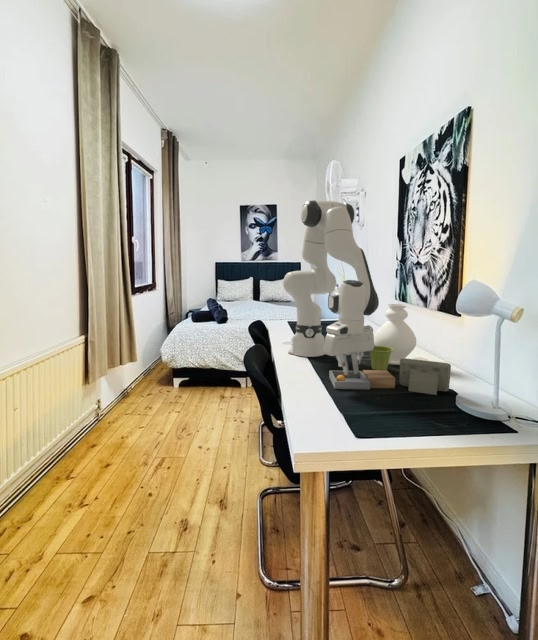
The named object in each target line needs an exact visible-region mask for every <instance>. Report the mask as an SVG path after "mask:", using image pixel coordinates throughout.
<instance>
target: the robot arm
mask: <svg viewBox="0 0 538 640" xmlns="http://www.w3.org/2000/svg"><path fill="white" fill-rule="evenodd" d="M300 216H301V217H300V218H301V222H302V224H303V225H304V226H306V229H305V232H304V237H303V244H302V251H301V256H302V259H303V260H304V261H305V262H306V263H308V264H309V265H310V270H294V271H290V272H287V273H286V274H285V275H284V278H283V279H282V280H283V281H282V286H283V288H284V290H285V292H286V293H287V294H289V295H290V297H291V298H292V299H293V300H294V303H295V308H296V324H295V331H296V332H295V334H293V336H292V337H291V339H290V340H291V341H290V342H291V347H290V349H288V351H287V353H288V354H290V355H294V356H298V357H306V358H307V357H308V358H309V357H311V358H315V357H321V356H324V355H327V356H330V357H334V356H335V359H336V360H337V364H338V365H337V366H338V367H340V368H343V366H345V365H344V364H345V362H344V361H342V357H343V354H348V353H352V352H355V351H356V356H357V362H358V365H361V361H362V358H363V357H364V352H369V351H372V350H373V349H374V346H375V344H374V336H375V334H374V328H373V327H372V326H371V325H368V324H367V325H365V316H371V315H373V314H374V313H375V312H376V311H377V309H378V307H379V304H380V303H379V302H380V301H379V296H378V294H377V290H376V289H375V286H374V283H373V280H372V276H371V271H370V267H369V264H368V260H367V257H366V255H365V251H364V250H363V249H362V248H361V247H360V246H358V244H357V242H356V239H355V237H354V234H353V233H354V231H353V223H354V220H355V210H354V207H353V205H351V204H349V203H347V202H340V201H334V200H317V201H316V200H315V199H313V200H308V201H306V202H304V204H303V206H302V209H301V213H300ZM328 255H329V256H331V257H332V258H334V259H335V260H338V261H341V262H344V263H345V264H347V265H348V266H351V267H352V269H354V271H355V275H356V278H357V280H355V279H347V280H343V281H342V282H341V285H340V287H338V288H336V286H337V279H336V276H335V274H334V273H333V272H332V271H331V270H330V268H329V265H328V261H327V260H328ZM325 294H328V296H327V307H328V309H329V311H330V312H331V313H333V314H334V315H335V314H336V315H338V320H337V321H335V322H333V323H331V324H329V325H327V326H326V329H325V331H326V333H327V334H326V335H325V336H324V335H323V334H322V330H323V328H322V324H321V321H322V309H321V307H320V305H319V304H318V303H316V302H314V301H313V300H312V295H325Z"/></svg>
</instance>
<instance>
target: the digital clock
mask: <svg viewBox="0 0 538 640" xmlns="http://www.w3.org/2000/svg"><path fill="white" fill-rule="evenodd" d="M451 370H452V365H451V364H450V363H448V362H443V361H435V360H433V361H432V360H423V359H415V358H414V359H413V358H407V357H406V358H403V359H400V365H399V385H400V386H403V387H408V392H411V393H412V392H413V393H419V394H426V395H434V396H437V395H438V393H437V392H448V391H449V390H450V382H451V372H452V371H451Z"/></svg>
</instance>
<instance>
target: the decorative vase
mask: <svg viewBox="0 0 538 640" xmlns="http://www.w3.org/2000/svg"><path fill="white" fill-rule="evenodd" d="M387 307H388V309H387V310H386V311H385V312H384V316H385V317H386V318H387V319H388V320H387V321H385V322H383V324H382V325H381V326H380V327H379V328H378V329H377V331H376V332H375V334H374V346H384V347H389V348H392V349H393V350H392V351H391V354H390V358H389V362H388V365H395V366H396V365H397V366H400V359H403V358H406V359H407V357H408V356H409V355H410V354H411V353H412V352H413V351H414V349H415V348H416V346H417V336H416V335H415V333H414V331H413V330H412V328H411V327H410V326H409V324H408V323H406V322H405V319H407V318H408V317H409V313H408V312H407V310H405V308H407V305H406V304H401V303H388V304H387Z"/></svg>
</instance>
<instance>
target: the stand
mask: <svg viewBox="0 0 538 640" xmlns="http://www.w3.org/2000/svg"><path fill="white" fill-rule="evenodd" d="M362 373H363V374H364V375H365V376H366V378H367V379H368V380H369V381H370V389H395V387H396V377H395V376H393V374H391V373H390V371H388V369H387V370H374V369H362Z"/></svg>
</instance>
